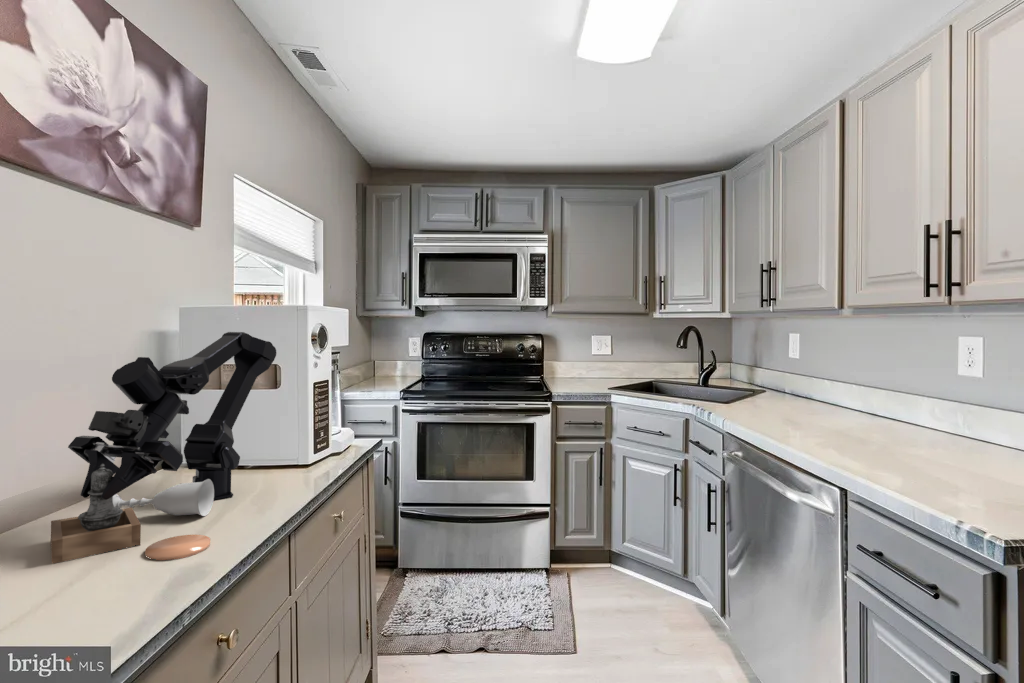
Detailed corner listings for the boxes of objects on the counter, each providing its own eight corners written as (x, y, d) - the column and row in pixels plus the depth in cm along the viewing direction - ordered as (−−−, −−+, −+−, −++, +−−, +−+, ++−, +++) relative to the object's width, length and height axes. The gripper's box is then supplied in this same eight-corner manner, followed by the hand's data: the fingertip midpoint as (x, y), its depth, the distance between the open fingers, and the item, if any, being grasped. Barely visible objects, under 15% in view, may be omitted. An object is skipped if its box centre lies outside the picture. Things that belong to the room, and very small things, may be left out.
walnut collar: (131, 526, 94) (131, 507, 94) (140, 545, 86) (140, 524, 86) (50, 541, 86) (50, 521, 86) (51, 563, 78) (52, 540, 78)
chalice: (98, 532, 96) (202, 524, 98) (87, 503, 93) (195, 495, 96) (119, 506, 102) (216, 498, 105) (110, 478, 100) (210, 471, 102)
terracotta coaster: (203, 533, 91) (203, 530, 91) (216, 550, 84) (216, 546, 84) (141, 547, 85) (141, 543, 85) (149, 565, 78) (150, 561, 78)
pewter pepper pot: (97, 543, 83) (99, 469, 82) (67, 539, 84) (69, 466, 84) (131, 530, 88) (133, 460, 88) (103, 526, 89) (105, 457, 89)
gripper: (79, 390, 91) (7, 468, 80) (170, 394, 88) (108, 476, 77) (120, 426, 99) (60, 502, 88) (205, 432, 96) (153, 511, 85)
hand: (93, 497), depth 85 cm, fingers closed on pewter pepper pot, 4 cm apart
